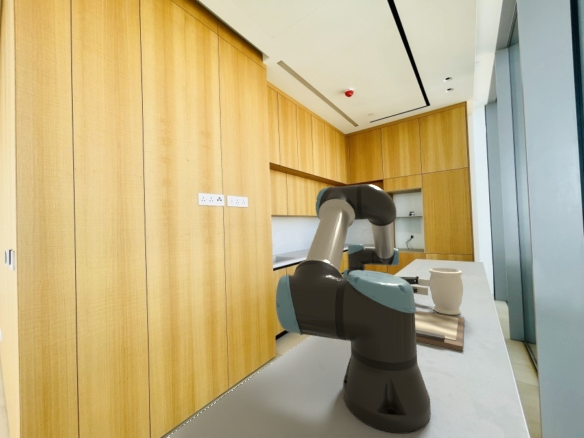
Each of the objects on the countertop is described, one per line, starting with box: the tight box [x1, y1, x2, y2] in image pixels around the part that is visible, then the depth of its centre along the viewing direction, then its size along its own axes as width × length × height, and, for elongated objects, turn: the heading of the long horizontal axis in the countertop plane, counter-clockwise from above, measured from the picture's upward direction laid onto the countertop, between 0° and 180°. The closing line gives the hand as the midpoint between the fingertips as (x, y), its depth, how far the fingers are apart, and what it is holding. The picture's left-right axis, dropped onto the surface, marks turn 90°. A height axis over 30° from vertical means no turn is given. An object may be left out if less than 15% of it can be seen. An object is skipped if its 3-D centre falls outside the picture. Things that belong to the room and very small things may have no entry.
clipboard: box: [415, 309, 465, 352], centre depth 76 cm, size 22×16×2 cm
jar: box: [428, 267, 464, 316], centre depth 90 cm, size 11×10×15 cm
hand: (432, 287), depth 93 cm, fingers open, 13 cm apart
